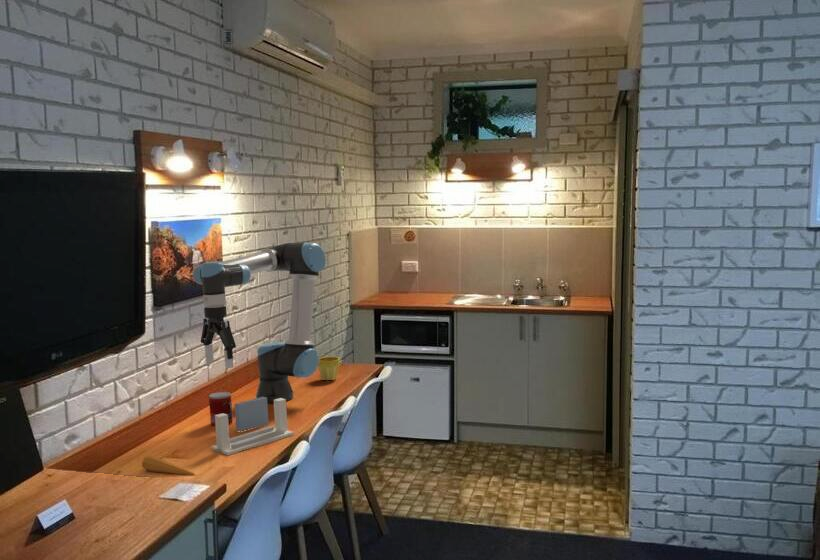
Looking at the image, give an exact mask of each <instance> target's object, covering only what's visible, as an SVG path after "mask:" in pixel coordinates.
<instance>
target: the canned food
mask: <svg viewBox="0 0 820 560" xmlns="http://www.w3.org/2000/svg"><path fill="white" fill-rule="evenodd" d="M208 402H209V415H210V416H209V417H210V425H211V426H213V427H216V426H215V415H218V414H222V413H224V414H227V415H228V424H230V423H231V424H233V406H232V394H231V392H228V391H218V392H213V393H211V394H209V395H208ZM231 424H230V425H231Z"/></svg>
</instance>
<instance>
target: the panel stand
mask: <svg viewBox="0 0 820 560" xmlns="http://www.w3.org/2000/svg"><path fill="white" fill-rule="evenodd" d="M273 412H274V413H273V414H274V426H275V427H274V426H272V425H271V426H267V427H263V428H261V429H258V430H253V431H250V432H246V433H243V434H241V435H237V436H234V437H231V438H230V427H229V426H230V425H229V424H228V415H227V414H224V413H222V414H218V415H215V426H214V427H215V437H216V438H215V439H216V444H215V445H211V450H212V449H213V451H215V452H218V453H220V452H221V453H220V454H223V453H224V455H226V456H231V455H234V454H237V453H236V452H238V453H240V452H239V451H241V452H243V451H242V450H244V451H246V450H245V449H247V450H249V449H248V448H250V449H252V448H251V447H254V448H256V447H255V446H257V447H259V445H260V446H264V445H266V444H269V443H272V442H276V441H278V440H282V439H286V438H287V437H291V436H295V433H294V431H291V430H289V429H288V417H287V415H288V413H287V401H286V399H283V398H279V399H275V400H274V403H273ZM233 453H234V454H233ZM230 454H231V455H230Z"/></svg>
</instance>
